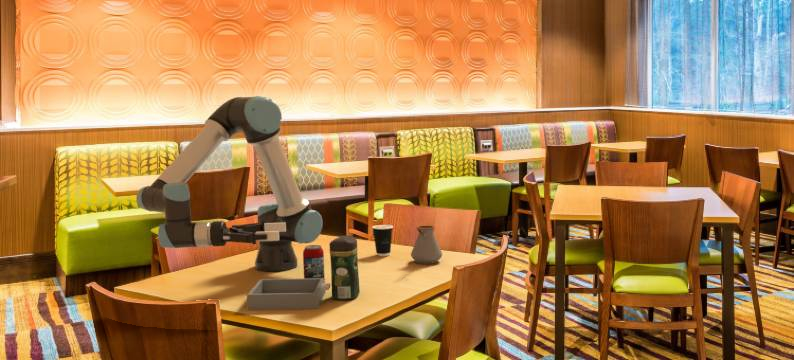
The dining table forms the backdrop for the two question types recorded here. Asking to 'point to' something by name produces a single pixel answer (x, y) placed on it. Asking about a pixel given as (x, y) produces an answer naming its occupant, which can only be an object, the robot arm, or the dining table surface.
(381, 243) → the dixie cup
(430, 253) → the coffee pot
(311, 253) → the beverage can
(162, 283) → the dining table surface
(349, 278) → the coffee jar
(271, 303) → the tray
